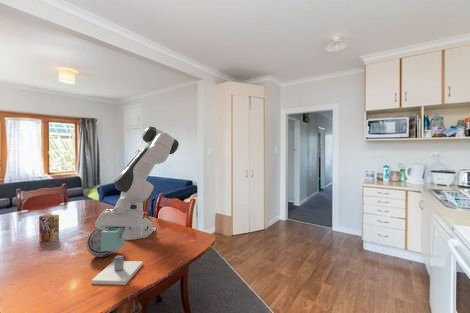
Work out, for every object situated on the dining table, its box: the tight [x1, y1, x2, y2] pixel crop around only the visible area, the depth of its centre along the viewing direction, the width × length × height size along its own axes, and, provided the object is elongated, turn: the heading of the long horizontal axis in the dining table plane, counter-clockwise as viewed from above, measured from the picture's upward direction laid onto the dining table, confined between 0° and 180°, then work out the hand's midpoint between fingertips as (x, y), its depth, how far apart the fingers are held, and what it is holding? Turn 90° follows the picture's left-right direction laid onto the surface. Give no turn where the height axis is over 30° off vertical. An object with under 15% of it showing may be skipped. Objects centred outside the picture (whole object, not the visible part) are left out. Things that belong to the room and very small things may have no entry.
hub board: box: [90, 260, 144, 286], centre depth 98 cm, size 16×14×2 cm
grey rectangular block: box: [113, 255, 125, 271], centre depth 98 cm, size 2×3×6 cm, turn 88°
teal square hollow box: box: [101, 227, 126, 252], centre depth 97 cm, size 7×7×8 cm
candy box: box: [38, 214, 60, 243], centre depth 133 cm, size 9×4×15 cm, turn 89°
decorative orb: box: [86, 228, 115, 258], centre depth 115 cm, size 15×14×15 cm
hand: (112, 238), depth 96 cm, fingers closed on teal square hollow box, 7 cm apart
